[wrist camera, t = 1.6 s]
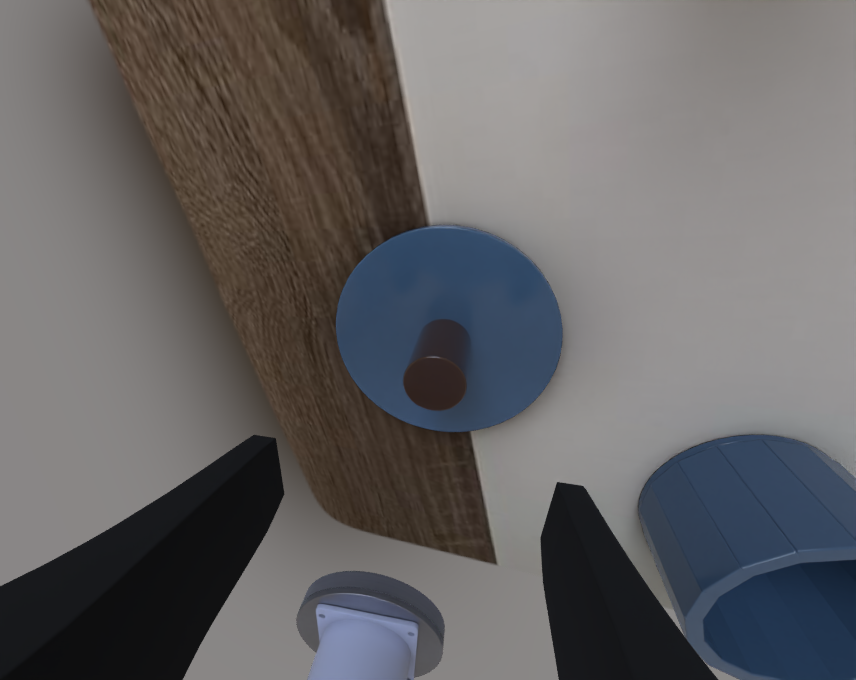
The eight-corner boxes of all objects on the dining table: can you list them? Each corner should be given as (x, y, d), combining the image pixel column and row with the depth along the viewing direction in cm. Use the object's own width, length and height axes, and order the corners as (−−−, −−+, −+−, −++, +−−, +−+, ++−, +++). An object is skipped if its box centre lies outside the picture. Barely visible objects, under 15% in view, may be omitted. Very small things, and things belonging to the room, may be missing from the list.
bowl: (787, 575, 22) (881, 709, 17) (616, 546, 23) (654, 664, 18) (887, 450, 18) (1056, 578, 12) (672, 421, 18) (744, 528, 13)
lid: (535, 431, 20) (547, 504, 16) (347, 404, 21) (312, 466, 17) (583, 233, 15) (617, 263, 11) (339, 211, 16) (289, 231, 12)
